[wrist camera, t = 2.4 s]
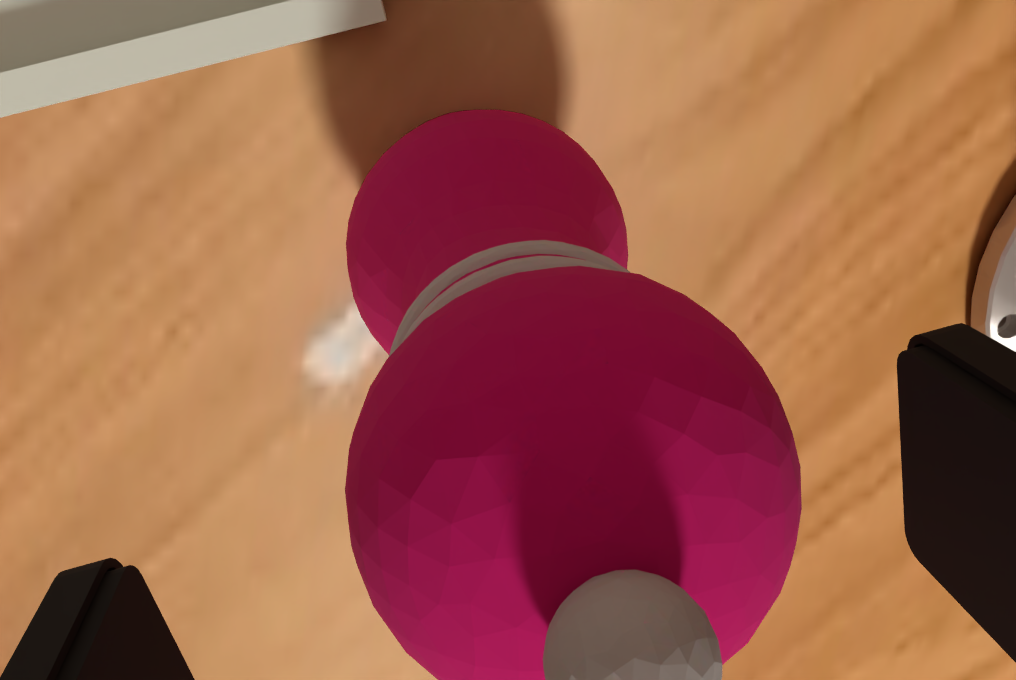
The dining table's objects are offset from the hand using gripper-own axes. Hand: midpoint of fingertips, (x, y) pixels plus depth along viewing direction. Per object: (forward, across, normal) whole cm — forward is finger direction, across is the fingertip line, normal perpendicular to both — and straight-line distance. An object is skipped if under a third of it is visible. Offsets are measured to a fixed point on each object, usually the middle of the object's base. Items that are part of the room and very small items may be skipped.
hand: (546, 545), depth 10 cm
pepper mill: (+17, -1, 0) cm, 17 cm away
